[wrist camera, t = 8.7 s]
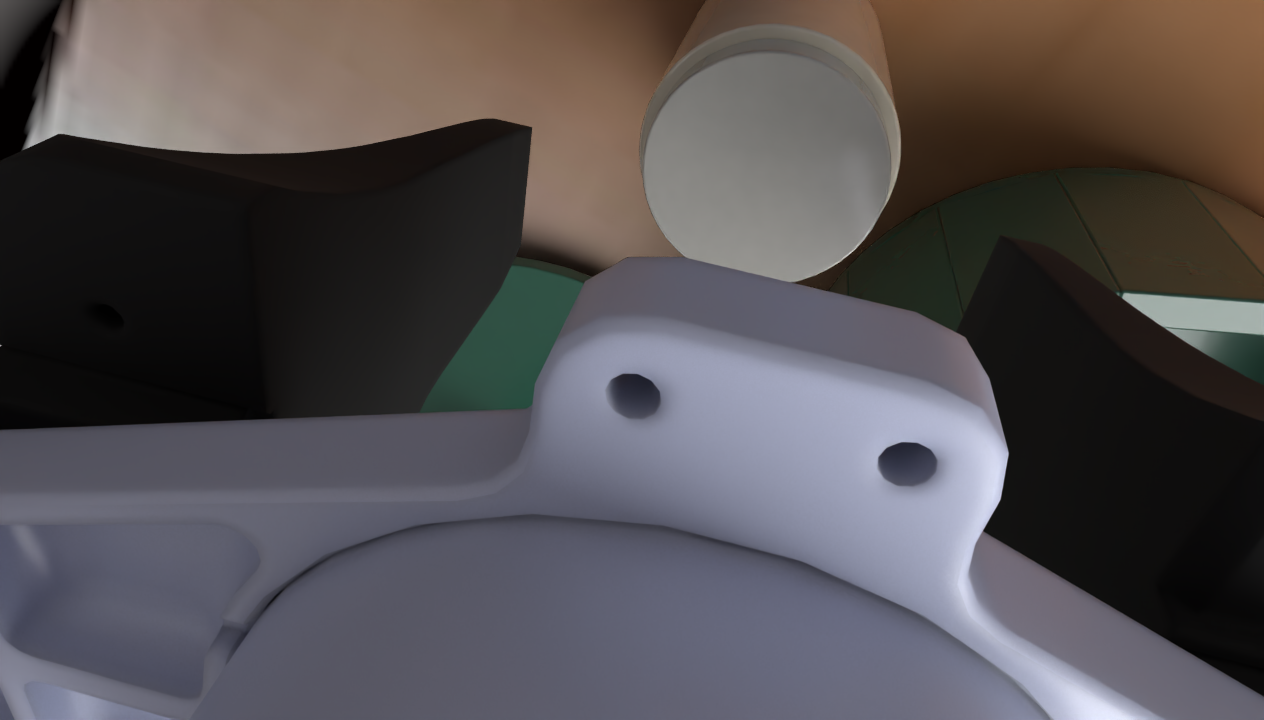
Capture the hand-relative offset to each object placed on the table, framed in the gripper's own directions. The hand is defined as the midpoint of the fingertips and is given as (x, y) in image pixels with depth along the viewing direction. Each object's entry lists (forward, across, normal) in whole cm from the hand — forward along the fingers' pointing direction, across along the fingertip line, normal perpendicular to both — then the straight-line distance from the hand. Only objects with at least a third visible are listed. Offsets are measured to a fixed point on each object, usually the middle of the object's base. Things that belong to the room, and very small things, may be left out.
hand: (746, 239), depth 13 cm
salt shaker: (+8, 0, 0) cm, 8 cm away
